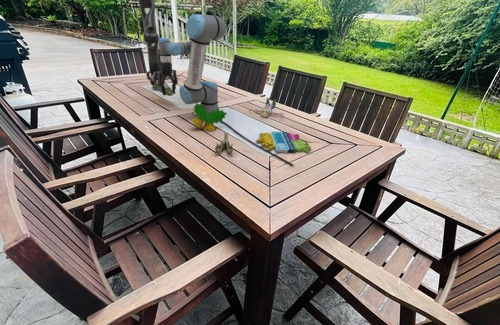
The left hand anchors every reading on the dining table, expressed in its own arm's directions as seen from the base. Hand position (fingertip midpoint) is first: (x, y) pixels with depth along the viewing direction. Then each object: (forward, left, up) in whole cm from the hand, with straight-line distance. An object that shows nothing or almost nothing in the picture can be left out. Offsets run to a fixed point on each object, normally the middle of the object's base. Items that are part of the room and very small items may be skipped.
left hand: (156, 84), depth 204 cm
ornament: (+65, +33, -12) cm, 73 cm away
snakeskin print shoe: (+8, +4, -4) cm, 10 cm away
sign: (+91, +71, -12) cm, 116 cm away
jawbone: (+97, +36, -12) cm, 104 cm away
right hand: (+16, +9, -3) cm, 19 cm away
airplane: (-80, +5, -12) cm, 81 cm away
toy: (+36, +81, -12) cm, 90 cm away
